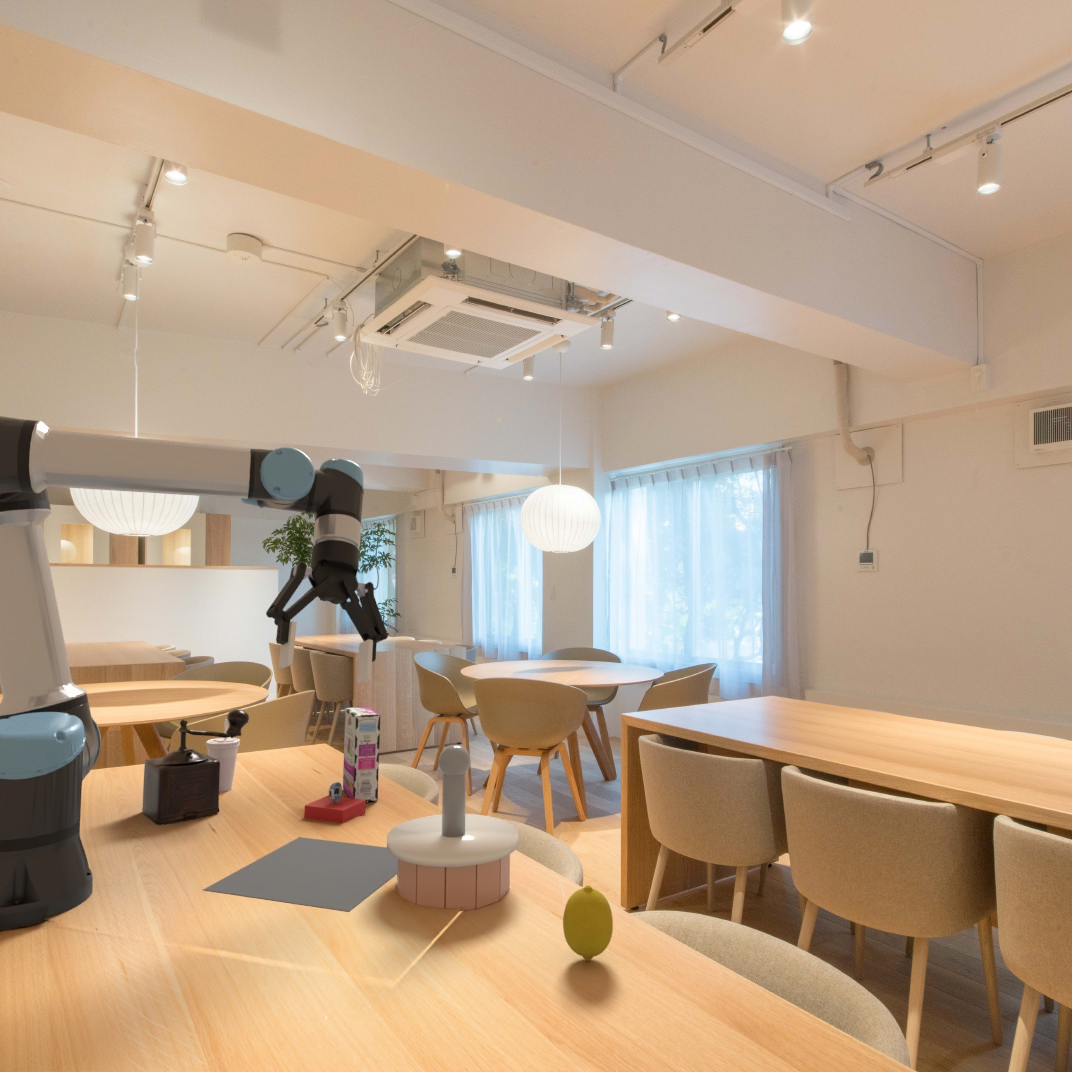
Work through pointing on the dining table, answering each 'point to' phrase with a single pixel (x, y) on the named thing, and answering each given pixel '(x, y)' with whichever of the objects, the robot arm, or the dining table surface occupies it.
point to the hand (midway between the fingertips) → (326, 674)
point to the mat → (314, 874)
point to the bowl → (454, 884)
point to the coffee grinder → (186, 778)
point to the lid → (453, 826)
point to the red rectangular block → (335, 806)
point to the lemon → (587, 922)
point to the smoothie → (224, 758)
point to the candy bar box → (361, 753)
